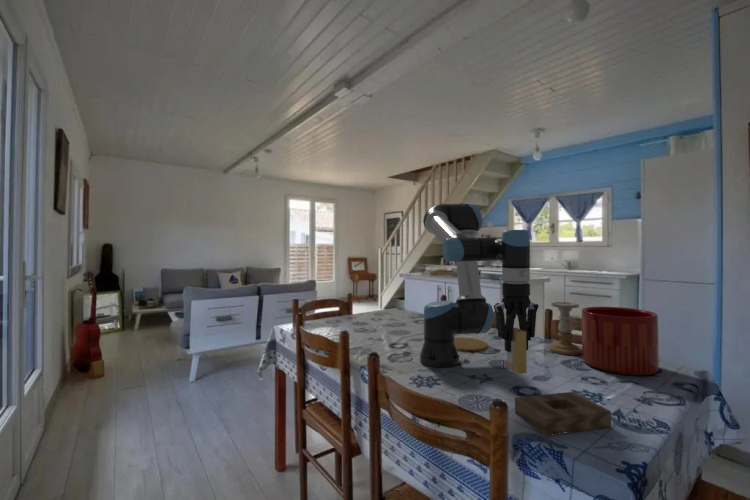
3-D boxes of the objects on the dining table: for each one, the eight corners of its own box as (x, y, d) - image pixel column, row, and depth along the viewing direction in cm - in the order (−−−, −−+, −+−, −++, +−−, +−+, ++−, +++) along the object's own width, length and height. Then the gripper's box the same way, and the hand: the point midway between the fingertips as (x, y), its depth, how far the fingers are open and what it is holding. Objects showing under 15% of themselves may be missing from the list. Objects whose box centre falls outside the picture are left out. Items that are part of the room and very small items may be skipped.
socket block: (544, 436, 81) (544, 418, 81) (515, 412, 93) (514, 397, 93) (611, 427, 84) (610, 411, 84) (574, 406, 96) (573, 391, 96)
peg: (517, 374, 99) (516, 332, 99) (507, 367, 104) (507, 328, 104) (526, 373, 100) (526, 331, 100) (516, 367, 105) (516, 327, 105)
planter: (587, 353, 144) (586, 304, 144) (659, 364, 129) (658, 310, 129) (577, 368, 126) (576, 312, 126) (659, 382, 112) (657, 320, 112)
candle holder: (552, 354, 143) (551, 305, 144) (547, 346, 155) (546, 301, 155) (586, 356, 140) (585, 306, 140) (578, 348, 152) (577, 302, 152)
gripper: (497, 284, 97) (498, 368, 97) (549, 282, 99) (549, 364, 100) (484, 281, 104) (485, 359, 104) (532, 280, 107) (533, 355, 107)
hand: (516, 361), depth 102 cm, fingers closed on peg, 3 cm apart
